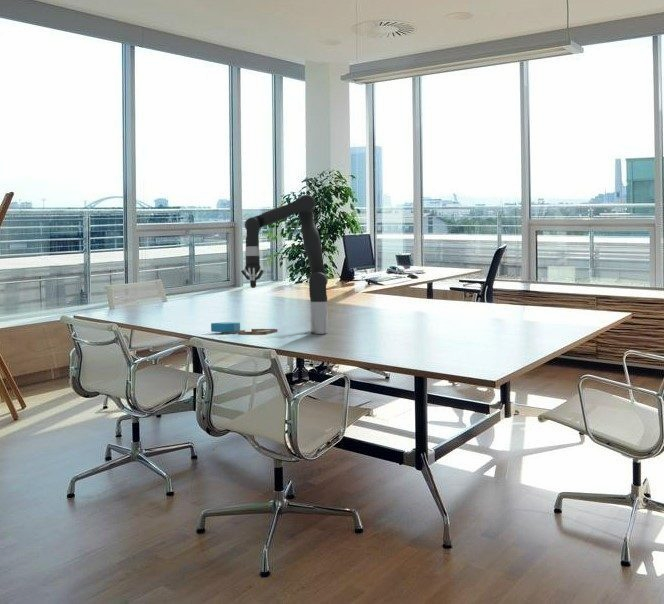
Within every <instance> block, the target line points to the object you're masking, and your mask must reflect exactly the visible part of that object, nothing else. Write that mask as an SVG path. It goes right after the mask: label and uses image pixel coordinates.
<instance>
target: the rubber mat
mask: <svg viewBox="0 0 664 604" xmlns="http://www.w3.org/2000/svg"><path fill="white" fill-rule="evenodd" d="M238 332H246V330H245V329H243V330H242V329H240V331H236V332H220V334H221V335H237V334H238Z"/></svg>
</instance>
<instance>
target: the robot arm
mask: <svg viewBox="0 0 664 604" xmlns="http://www.w3.org/2000/svg"><path fill="white" fill-rule="evenodd" d="M315 206H316V200H315V198H314V196H312V195H309V194H303V195H301V196H300V197H299V198H297V199H295V200H294V201H292V202H289V203H287V204H285V205H282V206H278V207H276V208H273V209H270V210H267V211H264V212H263V213H261V214H259V215H255V216H253V217H252V216H251V217H249V218H247V219H246V220H245V222H244V227H245V229H246V237H245V266H244V268H243V270H241V274H242V275H243V277H245V279H246V280H247V281H249V284H250V287H251V288H252V289H255V288H256V287H257V280H258V281H259V280H260V279H261V278H262V276H263V275H264V273H265V269H262V267H261V265H260V263H261V259H260V257H261V254H260V252H261V251H260V240H259V237H260V236H259V235H260V229H261V228H263V227H266V226H269V225H272V224H275V223H277V222H280V221H282V220H284V219H286V218H288V217H291V216H293V215H295V214H298V216H299V217H298V218H299V222H300V227H301V237H302V241H303V246H304V247H303V248H304V251H305V254H306V257H307V260H308V262H309V265H310V273H311V274H310V276H309V281H308V288H309V300H310V307H309V309H310V333H311V334H314V335H315V334H317V335H318V334H322V335H323V334H329V333H330V323H329V322H330V321H329V320H330V319H329V318H330V317H329V316H330V315H328V314H329V313H328V294H327V293H328V292H327V284H328V282H329V281H328V275H327V273H326V269H325V265H324V259H323V250H322V242H321V238H320V233H319V231H318V228H317V226H316V224H315V220H314V214H313V213H314V212H313V211H314V210H313V209H314V208H315ZM328 332H329V333H328Z"/></svg>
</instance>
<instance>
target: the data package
mask: <svg viewBox="0 0 664 604" xmlns="http://www.w3.org/2000/svg"><path fill="white" fill-rule="evenodd" d="M240 330H241V322H238V321H237V322H231V321H225V322H211V323H210V332H212V333H221V332H236V331H240Z"/></svg>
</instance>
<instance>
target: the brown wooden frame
mask: <svg viewBox="0 0 664 604" xmlns="http://www.w3.org/2000/svg"><path fill="white" fill-rule="evenodd" d="M265 330H269V331H265ZM257 331H265V332H257ZM277 332H278V329H277V328H251V331H245V332H238V336H239V335H243V336H244V335H247V336H248V335H251V336H252V335H255V336H256V335H257V336H258V335H259V336H265V335H269V334H273V333H277Z"/></svg>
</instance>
